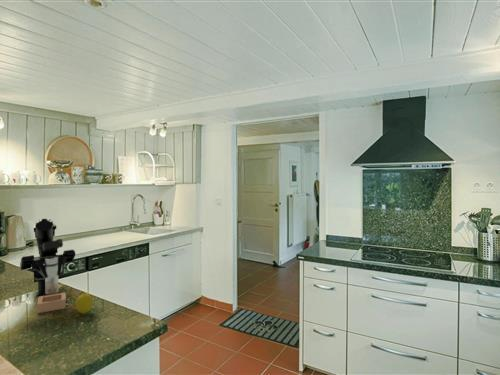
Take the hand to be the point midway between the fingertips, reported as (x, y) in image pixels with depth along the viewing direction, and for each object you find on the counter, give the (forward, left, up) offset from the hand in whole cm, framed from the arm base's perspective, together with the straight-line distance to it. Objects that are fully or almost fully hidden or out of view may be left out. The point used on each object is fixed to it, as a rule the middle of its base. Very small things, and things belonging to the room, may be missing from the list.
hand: (52, 276), depth 123 cm
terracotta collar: (-1, 0, -13) cm, 13 cm away
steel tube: (-1, 0, -7) cm, 7 cm away
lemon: (+14, +10, -13) cm, 22 cm away
